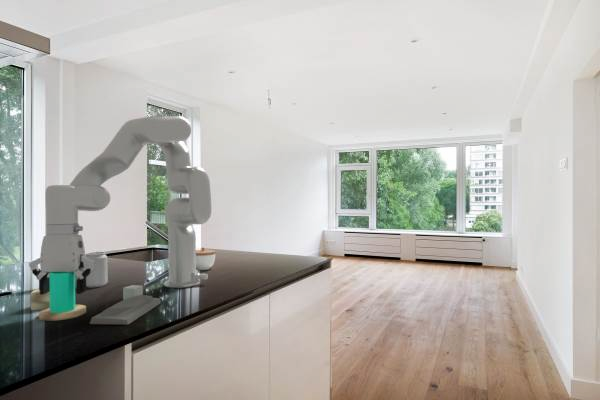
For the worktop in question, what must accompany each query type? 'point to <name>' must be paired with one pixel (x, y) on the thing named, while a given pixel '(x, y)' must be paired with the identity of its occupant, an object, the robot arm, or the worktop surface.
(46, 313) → the disc
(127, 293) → the grey stone block
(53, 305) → the candle
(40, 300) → the maple cube
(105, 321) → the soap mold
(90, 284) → the can
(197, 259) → the lidded jar
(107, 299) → the worktop surface
